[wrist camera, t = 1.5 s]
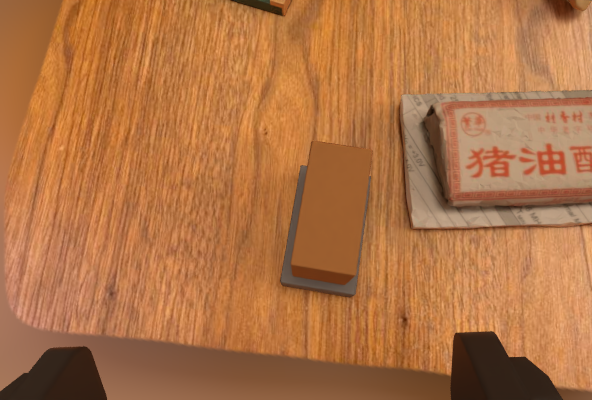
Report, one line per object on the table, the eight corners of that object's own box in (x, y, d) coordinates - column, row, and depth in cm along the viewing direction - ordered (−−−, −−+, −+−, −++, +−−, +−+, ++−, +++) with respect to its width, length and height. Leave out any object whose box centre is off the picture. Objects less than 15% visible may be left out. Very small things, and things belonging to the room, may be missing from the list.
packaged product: (684, 60, 29) (728, 207, 26) (631, 97, 34) (663, 224, 31) (410, 68, 29) (426, 216, 26) (395, 103, 34) (407, 232, 31)
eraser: (351, 297, 30) (368, 288, 22) (281, 285, 30) (274, 272, 23) (366, 186, 32) (386, 142, 24) (300, 176, 32) (300, 129, 25)
